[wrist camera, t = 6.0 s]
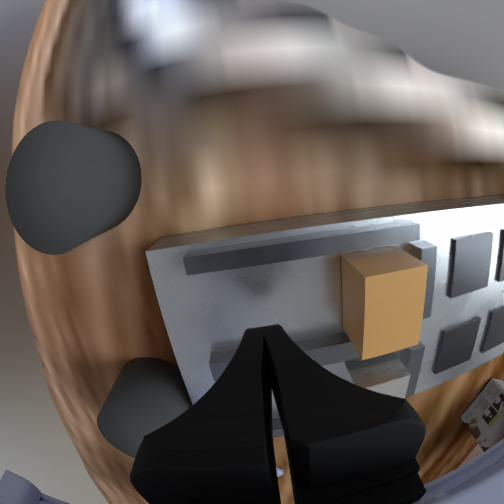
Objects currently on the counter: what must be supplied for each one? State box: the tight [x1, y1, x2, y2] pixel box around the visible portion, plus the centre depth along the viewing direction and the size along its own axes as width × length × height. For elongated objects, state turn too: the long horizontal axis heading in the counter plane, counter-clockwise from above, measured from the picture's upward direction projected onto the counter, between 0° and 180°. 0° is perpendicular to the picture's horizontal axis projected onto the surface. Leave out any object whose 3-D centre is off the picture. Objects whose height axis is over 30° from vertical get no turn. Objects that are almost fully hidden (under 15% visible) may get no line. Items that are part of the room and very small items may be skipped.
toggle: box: [341, 246, 428, 360], centre depth 12 cm, size 3×4×3 cm
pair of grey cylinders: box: [6, 121, 193, 458], centre depth 15 cm, size 6×21×5 cm, turn 8°
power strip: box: [146, 195, 504, 437], centre depth 15 cm, size 26×13×6 cm, turn 98°
